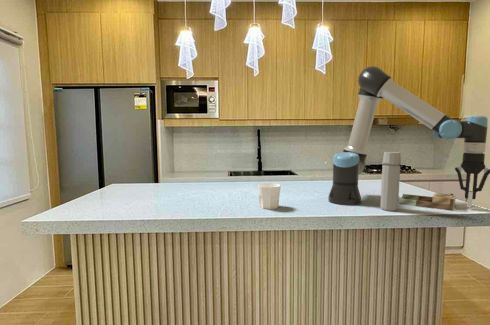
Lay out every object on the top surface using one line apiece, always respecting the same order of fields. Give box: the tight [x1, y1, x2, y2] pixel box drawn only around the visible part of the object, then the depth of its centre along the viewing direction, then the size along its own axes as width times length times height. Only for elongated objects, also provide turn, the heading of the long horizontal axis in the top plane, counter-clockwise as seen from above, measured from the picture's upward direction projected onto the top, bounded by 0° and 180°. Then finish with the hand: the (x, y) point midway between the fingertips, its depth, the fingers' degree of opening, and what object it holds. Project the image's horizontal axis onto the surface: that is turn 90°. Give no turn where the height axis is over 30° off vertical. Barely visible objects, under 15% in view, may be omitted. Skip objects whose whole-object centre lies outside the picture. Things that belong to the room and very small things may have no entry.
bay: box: [398, 193, 454, 211], centre depth 142 cm, size 21×14×5 cm, turn 56°
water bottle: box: [379, 151, 402, 212], centre depth 132 cm, size 9×8×25 cm
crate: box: [432, 192, 457, 210], centre depth 138 cm, size 8×8×5 cm
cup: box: [257, 182, 281, 210], centre depth 136 cm, size 10×10×10 cm
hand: (469, 206), depth 133 cm, fingers closed
